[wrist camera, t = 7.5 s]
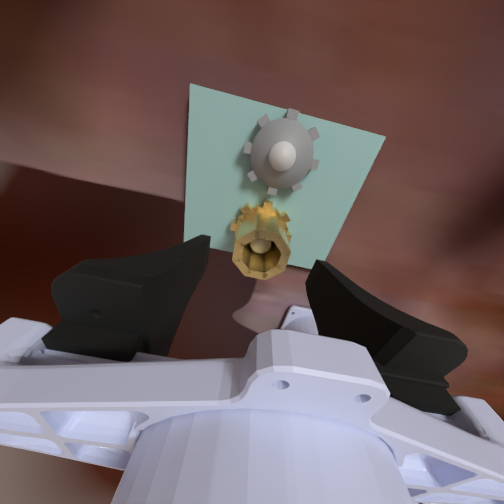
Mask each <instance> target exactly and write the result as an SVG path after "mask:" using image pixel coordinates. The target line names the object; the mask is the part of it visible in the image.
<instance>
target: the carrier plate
mask: <svg viewBox="0 0 504 504" xmlns="http://www.w3.org/2000/svg"><path fill="white" fill-rule="evenodd" d="M385 138H386V137H385V136H381V135H378V134H374V133H370V132H367V131H363V130H359V129H356V128H352V127H348V126H345V125H341V124H337V123H334V122H330V121H326V120H323V119H319V118H315V117H312V116H308V115H304V114H301V113H299V111H298V110H294V109H291V108H289V109H288V110H286V109H282V108H279V107H275V106H271V105H268V104H264V103H260V102H257V101H253V100H249V99H246V98H242V97H238V96H235V95H231V94H227V93H224V92H220V91H216V90H213V89H209V88H205V87H202V86H198V85H194V84H191V83H190V99H189V124H188V148H187V173H186V198H185V222H184V223H185V225H184V242H186V241H188V240H190V239H192V238H194V237H196V236H199V235H201V234H203V235H207V236H211V241H210V248H214V249H219V250H223V251H228V252H234V247H235V246H234V242H235V240H236V238H235V232H236V231H231V230H230V227H231V222H232V220H233V219H235V220H238V216H239V214H240V213H242V211H241V210H240V208H241V206H242V205H244V204H245V203H247V202H248V203H249V204H250V206H251V207H252V206H253V205H255V204H256V203H258V204H262V205H263V202H264V199H267V200H271V201H272V202H273V206H272V207H275V208H277V209H278V210H279V212H280V213H281V212H283V211H286V212H287V214H288V216H289V218H290V220H291V221H289V222H287V223H286V224H287V226H288V231H290V232H291V235H292V237H291V240H290V243H289V245H290V249H291V255H290V257H289V260H288V263H287V264H289V265H294V266H299V267H304V268H308V269H312V267H313V265H314V263H315V261H316V259H318V260H322V261H325V259H326V257H327V255H328V253H329V251H330V249H331V247H332V245H333V243H334V241H335V239H336V237H337V235H338V233H339V231H340V229H341V227H342V225H343V223H344V221H345V219H346V217H347V215H348V213H349V211H350V209H351V207H352V205H353V203H354V201H355V199H356V196H357V194H358V192H359V190H360V188H361V186H362V184H363V182H364V180H365V178H366V176H367V174H368V172H369V170H370V168H371V166H372V164H373V162H374V160H375V158H376V156H377V154H378V152H379V150H380V148H381V146H382V144H383V142H384V140H385ZM250 245H251V248H252V250H253V251H255V252H256V253H265V252H267V251H268V250H269V249H270V247H271V241H270V240H266V239H261V238H256V239H255V240H253V241H251V243H250Z"/></svg>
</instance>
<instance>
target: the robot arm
mask: <svg viewBox="0 0 504 504" xmlns="http://www.w3.org/2000/svg"><path fill="white" fill-rule="evenodd" d="M210 241H211V236H207V235H203V234H201V235H199V236H196V237H194V238H192V239H190V240H188V241H186V242H183V243H181V244H178V245H176V246H173V247H171V248H168V249H164V250H161V251H157V252H153V253H148V254H143V255H138V256H131V257H122V258H112V259H111V258H109V259H85V260H84V261H82V262H81V263H79V264H77V265H76V266H74V267H72V268H71V269H69V270H67V271H66V272H64V273H63V274H61V275H59V276H58V277H56V278H55V280H54V281H53V282H52V286H51V293H52V297H53V300H54V302H55V304H56V307H57V309H58V311H59V314H60V316H61V319H62V321H61V322H60V323H58V324H57V325H56V326H55V327H54V328H53V327H52V326H50V325H49V324H46V323H43V322H37V321H32V320H27V319H21V318H10V319H8V320H7V321H5V322H4V323H2V324H1V325H0V445H4V446H10V447H16V448H21V449H25V450H30V451H36V452H41V453H45V454H49V455H54V456H59V457H63V458H68V459H72V460H77V461H82V462H86V463H91V464H96V465H100V466H105V467H109V468H114V469H119V470H123V471H125V472H124V474H123V476H122V478H121V481H120V483H119V486H118V488H117V490H116V493H115V495H114V497H113V500H112V502H111V504H504V422H503V421H502V419H501V418H500V417H499V416H498V415H497V414H496V413H495V412H494V411H493V409H492V408H491V407H490V406H489V405H488V404H487V403H486V402H485V400H482V399H479V398H473V397H467V396H461V395H456V396H452V397H451V395H450V394H449V393H448V391H447V390H446V389H445V388H448V387H449V383H448V382H447V381H446V380H445V379H444V376H445V375H447V374H448V373H449V372H451V371H452V370H454V369H455V368H456V367H458V366H459V365H460V364H461V363H462V362H463V361H464V360H465V359H466V357H467V352H468V349H467V347H466V345H465V344H464V343H463V342H462V341H461V340H460V339H459V338H458V337H456V336H455V335H454V334H452V333H451V332H449V331H446V330H444V329H441V328H439V327H436V326H434V325H431V324H429V323H426V322H424V321H421V320H419V319H417V318H415V317H413V316H410V315H408V314H406V313H404V312H402V311H400V310H398V309H396V308H394V307H392V306H390V305H388V304H387V303H385V302H383V301H381V300H380V299H378V298H376V297H375V296H373V295H371V294H370V293H368V292H367V291H365V290H364V289H362V288H361V287H359V286H358V285H357V284H355V283H354V282H352V281H351V280H350V279H349V278H347V277H346V276H345V275H343V274H342V273H341V272H340V271H338V270H337V269H336V268H334V267H333V266H332V265H330V264H329V263H327V262H326V261H322V260H318V259H316V261H315V263H314V265H313V267H312V269H311V271H310V274H309V276H308V278H307V280H306V282H305V283H306V291H307V296H308V300H309V303H310V307H311V309H309V308H304V307H299V306H291V307H290V308H289V310H288V312H287V315H286V317H285V319H284V321H283V323H282V326H281V328H280V329H271V330H268V331H265V332H263V333H260V334H258V335H257V336H256V337H255V338H254V339H253V341H252V342H251V343H250V345H249V348H248V350H247V353H246V355H245V357H244V358H220V359H192V360H181V359H175V358H170V357H167V355H168V352H169V350H170V346H171V344H172V341H173V339H174V336H175V333H176V331H177V328H178V326H179V323H180V321H181V318H182V316H183V313H184V311H185V308H186V306H187V304H188V302H189V300H190V298H191V296H192V294H193V292H194V290H195V289H196V287H197V285H198V283H199V281H200V280H201V277H202V276H203V274H204V271H205V269H206V266H207V263H208V257H209V249H210ZM291 312H293V313H291Z"/></svg>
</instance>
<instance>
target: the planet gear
mask: <svg viewBox="0 0 504 504" xmlns="http://www.w3.org/2000/svg"><path fill="white" fill-rule="evenodd" d="M272 206H273V202H272V201H271V200H267V199H264V202H263V205H262V204H258V203H256V204H255V205H253V206H252V207H251V206H250V204H249V203H248V202H247V203H245V204H244V205H242V206H241V208H240V210H241V211H242V213H240V214H239V216H238V220H235V219H233V220H232V222H231V227H230V230H231V231H236V232H235V238H236V240H235V242H234V246H235V247H234V252H233V257H232V261H233V262H234V263H235V265H236V266H237V267H238V268H239V270H240V271H241V272H242V273H243V274H244V276H248V277H253V278H258V279H263V280H267V279H269V278H271V277H273V276H275V275H277V274H279V273H281V272H283V271H285V268H286V265H287V263H288V260H289V257H290V255H291V249H290V245H289V243H290V240H291V237H292V235H291V232H290V231H288V226H287V224H286V223H287V222H289V221H291V220H290V218H289V216H288V214H287V212H286V211H283V212H281V213H280V212H279V210H278V209H277V208H275V207H272ZM256 238H261V239H266V240H270V241H271V247H270V249H269V250H268V251H267V252H265V253H256V252H255V251H253V250H252V248H251V245H250V243H251V241H253V240H255V239H256Z"/></svg>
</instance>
